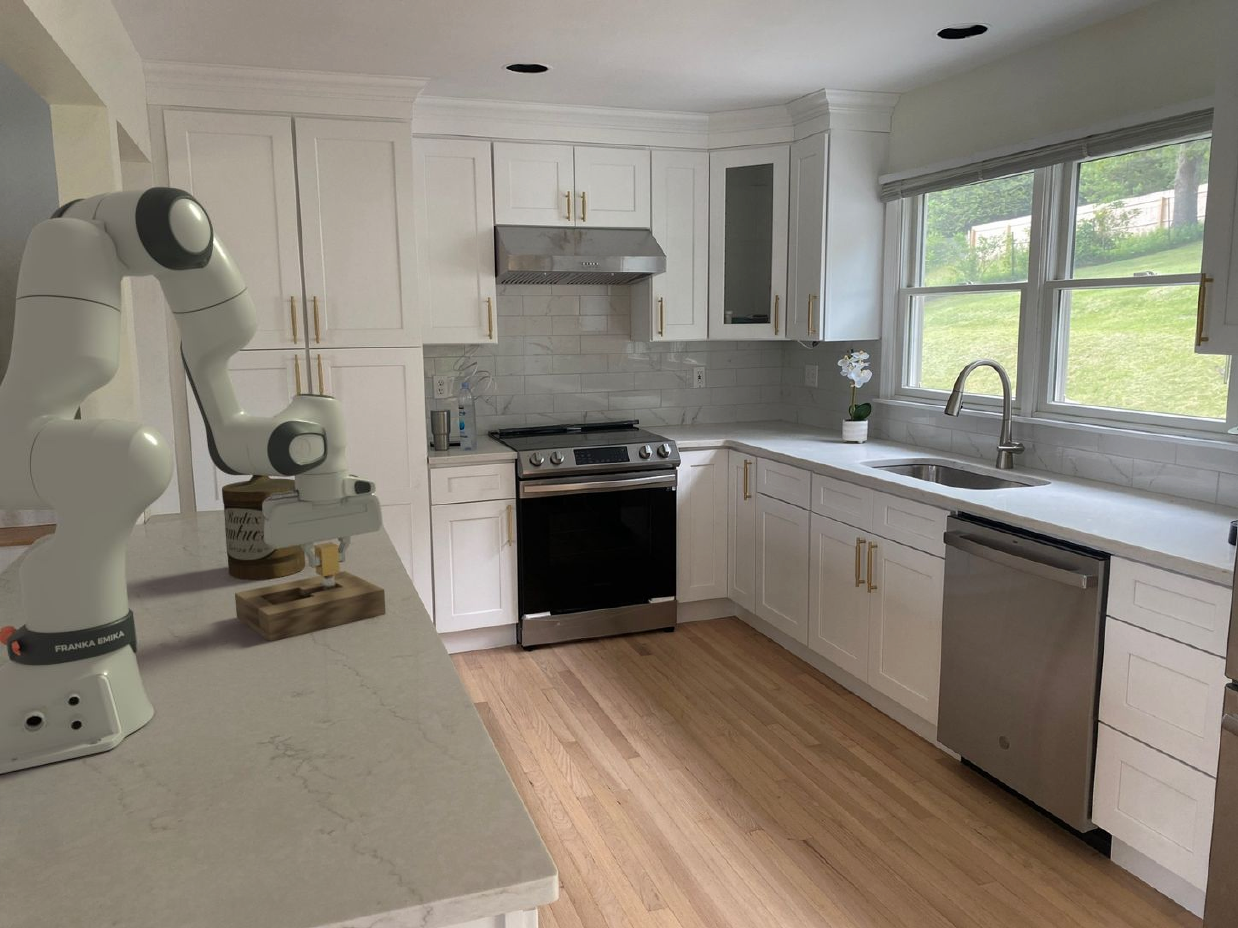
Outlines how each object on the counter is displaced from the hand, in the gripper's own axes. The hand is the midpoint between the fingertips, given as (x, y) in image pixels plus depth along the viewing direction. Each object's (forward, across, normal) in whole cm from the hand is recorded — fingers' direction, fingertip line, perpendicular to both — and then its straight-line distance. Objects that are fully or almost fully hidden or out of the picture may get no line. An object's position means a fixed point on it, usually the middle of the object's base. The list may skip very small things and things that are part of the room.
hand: (327, 564), depth 155 cm
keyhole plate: (+8, -4, 0) cm, 9 cm away
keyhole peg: (+7, 0, 0) cm, 7 cm away
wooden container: (+9, +2, +35) cm, 36 cm away
